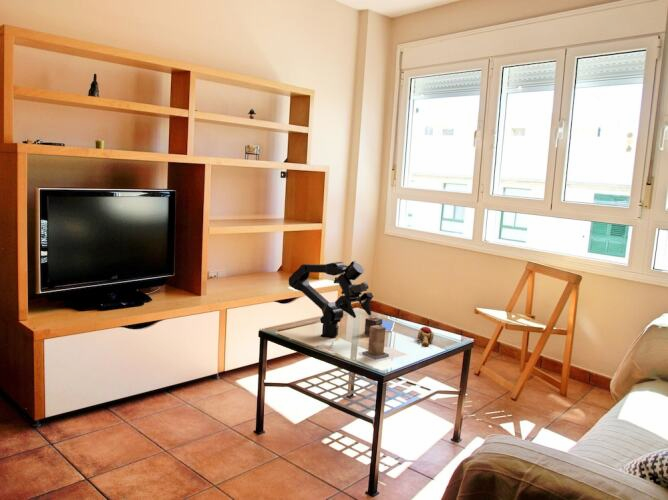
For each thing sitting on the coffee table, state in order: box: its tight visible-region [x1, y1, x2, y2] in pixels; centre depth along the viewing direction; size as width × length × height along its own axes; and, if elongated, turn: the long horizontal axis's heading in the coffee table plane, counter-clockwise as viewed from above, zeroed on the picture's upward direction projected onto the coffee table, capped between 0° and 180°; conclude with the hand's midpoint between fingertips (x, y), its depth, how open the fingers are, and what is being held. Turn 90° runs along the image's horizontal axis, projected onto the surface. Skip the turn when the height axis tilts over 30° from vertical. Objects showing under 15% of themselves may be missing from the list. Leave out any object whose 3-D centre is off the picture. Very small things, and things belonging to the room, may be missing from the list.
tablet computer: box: [382, 319, 396, 333], centre depth 286 cm, size 19×13×1 cm, turn 169°
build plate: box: [355, 346, 408, 363], centre depth 238 cm, size 12×19×2 cm, turn 132°
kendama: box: [416, 326, 435, 348], centre depth 262 cm, size 8×6×18 cm
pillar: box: [367, 325, 386, 356], centre depth 235 cm, size 4×4×12 cm
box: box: [364, 316, 384, 335], centre depth 271 cm, size 6×6×7 cm
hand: (362, 316), depth 248 cm, fingers open, 9 cm apart
